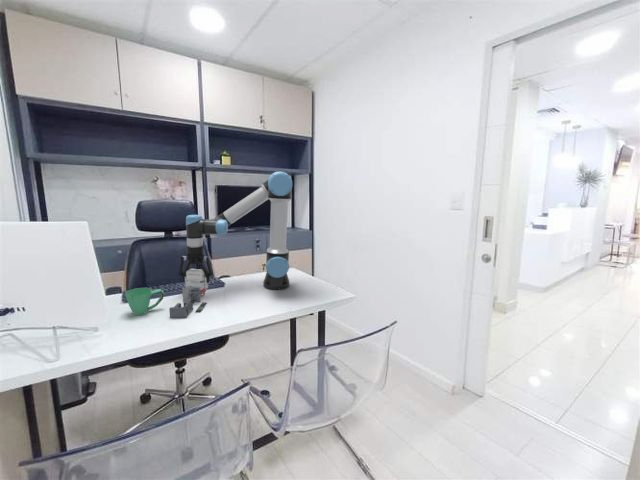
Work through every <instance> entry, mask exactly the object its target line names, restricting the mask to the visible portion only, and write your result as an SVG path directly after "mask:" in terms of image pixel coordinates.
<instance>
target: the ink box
mask: <svg viewBox="0 0 640 480" xmlns="http://www.w3.org/2000/svg"><path fill="white" fill-rule="evenodd" d="M205 276H206V275H205V273H204V271H203V270H202V268H199V269H198V268H190V269H189V270H188V271H186V278H187V287H200V292H205V293H206V292H207V290H208V288H207V289H205Z"/></svg>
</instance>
